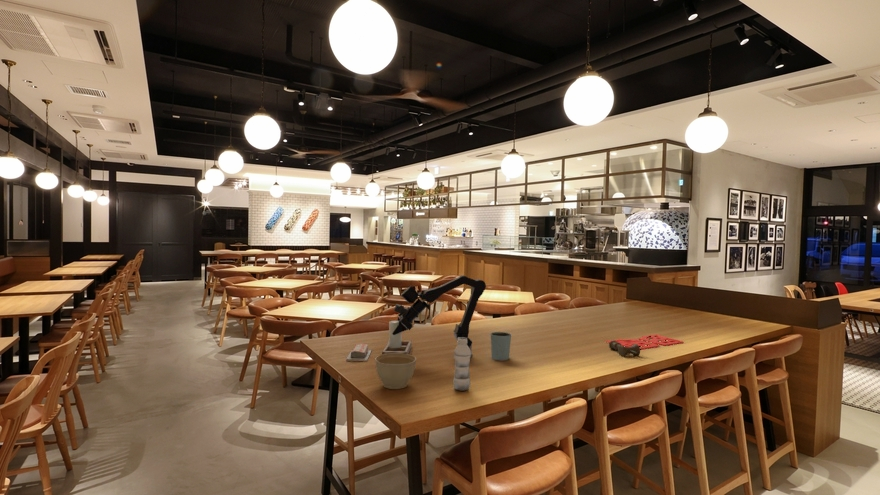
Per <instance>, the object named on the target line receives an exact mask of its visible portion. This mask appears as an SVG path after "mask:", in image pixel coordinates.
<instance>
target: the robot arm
mask: <svg viewBox="0 0 880 495" xmlns="http://www.w3.org/2000/svg"><path fill="white" fill-rule="evenodd" d="M462 285H466V286H468V287H470V295H469V299H468V301H467V304H466V307H465V310H464V312H463V316H462V318H461V321H460V323H459V324H457V323H456V324H455V327H454V330H453V336H454V338H455V339H456V341H458V338H459V337H465V338H467V342H468V343H467V345H468V347H469V348H470V351H471V352H472V344H473V341H472V340H471V338H469V334H470V324H471V321H472V318H473V316H474V314H475V313H474V312H475V309H476V307H477V305H478V301H479V299H480V297H481V296H482V295H483V294H484V292H485V290H486V288H487V284H486V281H485V280H482V279H480V278H479V279H478V278H476V279H473V278H470V277H469V276H468V277H467V276H466V275H459V276H458V277H456V278H454V279H452V280H450V281H448V282H445V283H444V284H442V285H440V286H436V287H431V288H428V289H425V290H424V291H422V292H417V291H416V290H415V288H414V287H413V286H412V285H410V286H409V287H407V288H406V289H404V291H403V292H402V293H401V294H400V296H401V297H402V298H403V300H405V301H406V302H407V303H408V304H410V303H411V304H412V305H410V306H407V307H406V306H405V305H402V304H398V303H396V304H395V305H394V308H393V311H394V312H396V313H398V314H397V317H396V318H397V319H396V320H397V321H399V325H398V326H397V327H396V329H395V330H394V332H393V333H392V334H393V335H396V334H398V333H400V332H402V333H403V332H405V331H410V330H412V328H413V321H414V320H415V319H416V318H419V315H420V314H421V313H422V312H423V311H424V310H425V309H427V310H428V311H430V310H431V304H430V303H433V302H435V301H436V300H438V299H439V298H440V297H441V296H442V295H443V294H446V293H448V292H450V291H452V290H454V289H456V288H459V287H460V286H462ZM472 356H473V354H472V353H471V356H470V358H471V357H472Z"/></svg>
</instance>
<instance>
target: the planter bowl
mask: <svg viewBox="0 0 880 495" xmlns="http://www.w3.org/2000/svg"><path fill="white" fill-rule="evenodd" d="M374 360H375V361H374V362H375V368H376V373H377V376H378V378H379V379H380V381H381V383H382V387H384V388H386V389H390V390H399V389H404V388H406V387H407V386H408V385H409V384H408V383H409V382H410V381H411V379H412V377H413V375H414V373H415V369H416V362H417V358H416V356H415V355H411V354H402V353H390V354H383V355H382V354H380V355H377V356H376V357H375V359H374Z"/></svg>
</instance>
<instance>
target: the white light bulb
mask: <svg viewBox="0 0 880 495" xmlns="http://www.w3.org/2000/svg"><path fill="white" fill-rule="evenodd" d="M388 324H389V325H388V328H389V330H388V342H389V347H390V348H400V347H401V343H402V341H403V340H402V338H403V337H402V333H403V332H400V333H398V334H396V335H393V334H392V333H393V332H394V330H395V329H396V327H397V326H398V325H399V321H398V320H391V321H390V320H389V322H388Z"/></svg>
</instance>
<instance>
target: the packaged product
mask: <svg viewBox="0 0 880 495" xmlns="http://www.w3.org/2000/svg"><path fill="white" fill-rule="evenodd" d="M349 352H350V353H349V354H348V355H347V357H346V358H345V359H346V362H367V361H368V360H369V357H370V356H371V353H372V349H369V344H366V343H355V345H354V347H353V348H352V349H351V351H349Z"/></svg>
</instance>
